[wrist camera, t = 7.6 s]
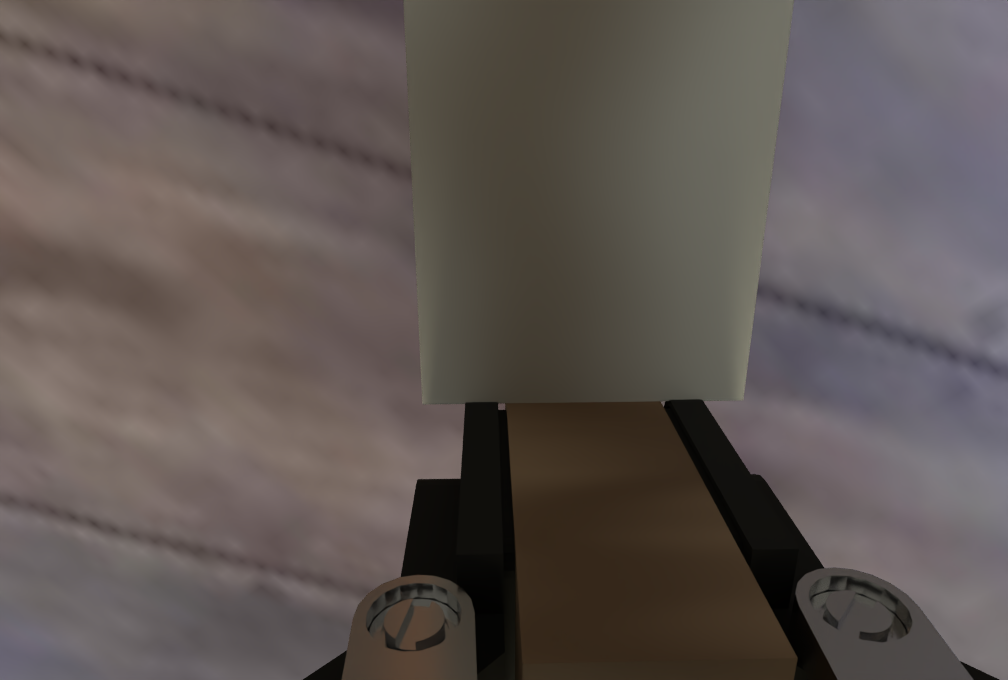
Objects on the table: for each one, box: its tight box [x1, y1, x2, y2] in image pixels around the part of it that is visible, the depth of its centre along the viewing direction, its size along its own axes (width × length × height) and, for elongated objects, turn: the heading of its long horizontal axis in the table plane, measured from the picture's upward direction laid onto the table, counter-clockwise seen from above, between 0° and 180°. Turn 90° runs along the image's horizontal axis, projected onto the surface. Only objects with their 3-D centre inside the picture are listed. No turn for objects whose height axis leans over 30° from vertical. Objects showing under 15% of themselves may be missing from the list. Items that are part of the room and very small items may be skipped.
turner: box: [404, 0, 798, 680], centre depth 8 cm, size 5×16×6 cm, turn 0°
